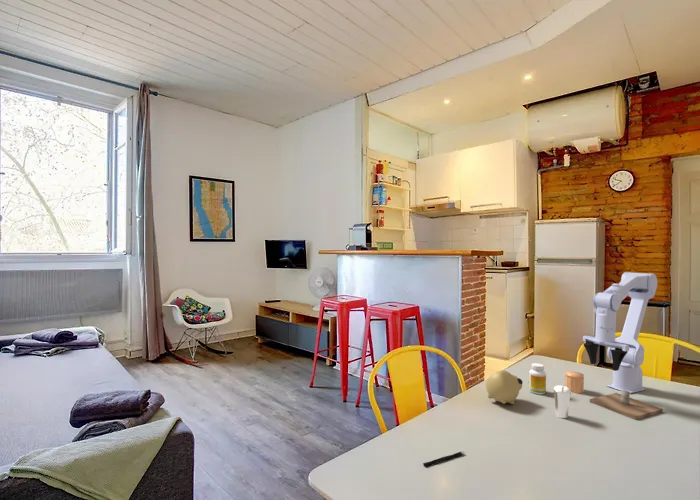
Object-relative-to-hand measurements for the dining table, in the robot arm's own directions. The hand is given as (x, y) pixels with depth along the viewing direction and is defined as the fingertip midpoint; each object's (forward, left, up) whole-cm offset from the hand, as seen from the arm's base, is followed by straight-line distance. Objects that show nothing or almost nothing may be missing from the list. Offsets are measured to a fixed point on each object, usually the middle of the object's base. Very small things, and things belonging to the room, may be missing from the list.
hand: (604, 366), depth 131 cm
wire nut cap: (+4, -8, -10) cm, 14 cm away
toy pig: (+36, -10, -11) cm, 39 cm away
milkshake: (+28, +5, -11) cm, 30 cm away
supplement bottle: (+18, -12, -11) cm, 24 cm away
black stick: (+76, +10, -11) cm, 77 cm away
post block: (+2, +8, -10) cm, 13 cm away
